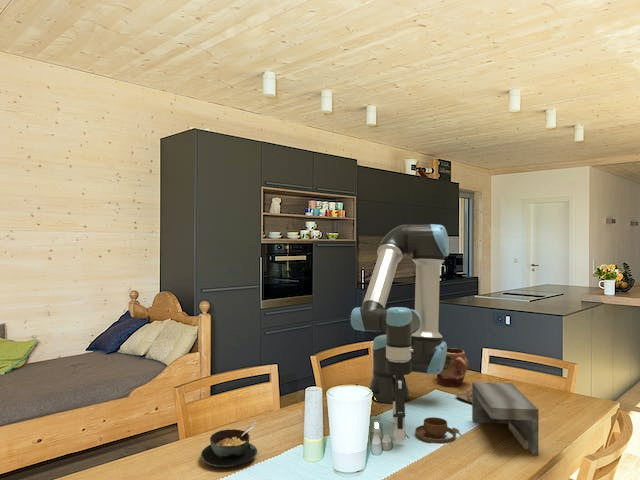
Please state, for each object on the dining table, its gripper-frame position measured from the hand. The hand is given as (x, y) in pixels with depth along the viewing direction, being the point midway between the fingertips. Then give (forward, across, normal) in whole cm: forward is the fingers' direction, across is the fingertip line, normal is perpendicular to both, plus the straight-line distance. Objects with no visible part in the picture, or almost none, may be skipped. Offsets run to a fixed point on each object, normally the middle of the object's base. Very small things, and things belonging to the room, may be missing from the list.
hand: (398, 430), depth 152 cm
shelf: (+1, +1, -30) cm, 31 cm away
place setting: (+2, +4, -10) cm, 11 cm away
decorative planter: (+1, +56, -25) cm, 61 cm away
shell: (+2, +31, -26) cm, 41 cm away
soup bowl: (+2, -20, +46) cm, 50 cm away
